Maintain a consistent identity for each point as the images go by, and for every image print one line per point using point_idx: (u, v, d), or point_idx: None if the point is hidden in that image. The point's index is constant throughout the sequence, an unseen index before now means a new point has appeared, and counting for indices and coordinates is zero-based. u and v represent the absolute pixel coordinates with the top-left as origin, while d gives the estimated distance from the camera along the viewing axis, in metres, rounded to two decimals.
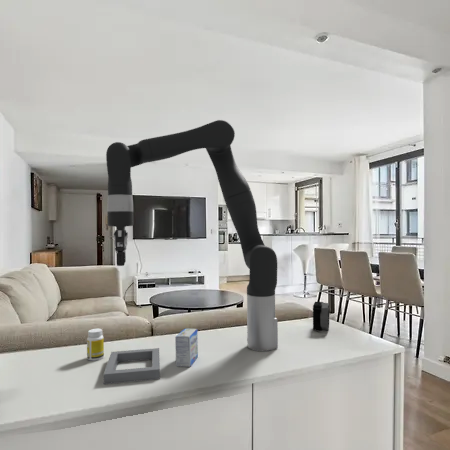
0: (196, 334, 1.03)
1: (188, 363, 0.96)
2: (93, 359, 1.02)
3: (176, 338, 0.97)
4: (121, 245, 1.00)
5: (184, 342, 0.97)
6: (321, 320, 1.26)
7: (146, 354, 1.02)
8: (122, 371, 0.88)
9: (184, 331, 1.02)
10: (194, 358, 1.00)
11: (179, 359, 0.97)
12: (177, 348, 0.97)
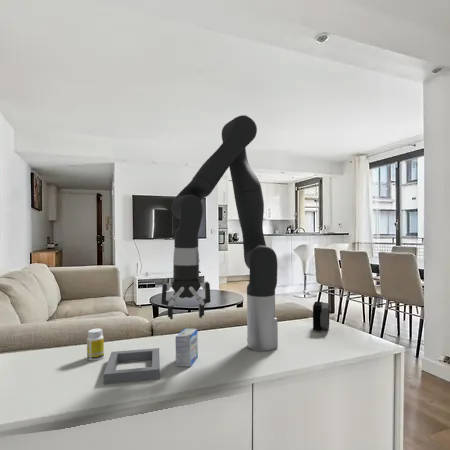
0: (196, 334, 1.03)
1: (188, 363, 0.96)
2: (93, 359, 1.02)
3: (176, 338, 0.97)
4: None
5: (184, 342, 0.97)
6: (321, 320, 1.26)
7: (146, 354, 1.02)
8: (122, 371, 0.88)
9: (184, 331, 1.02)
10: (194, 358, 1.00)
11: (179, 359, 0.97)
12: (177, 348, 0.97)
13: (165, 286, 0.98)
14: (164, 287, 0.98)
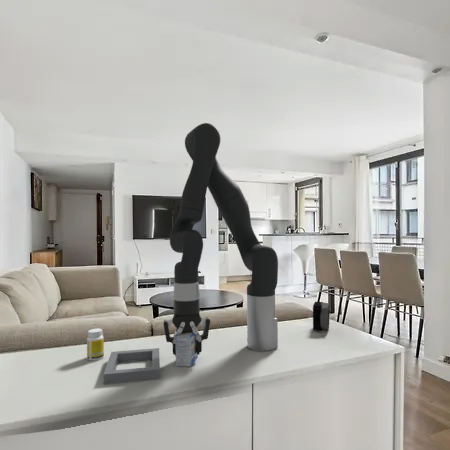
0: None
1: (188, 363, 0.96)
2: (93, 359, 1.02)
3: (176, 338, 0.97)
4: None
5: (184, 342, 0.97)
6: (321, 320, 1.26)
7: (146, 354, 1.02)
8: (122, 371, 0.88)
9: None
10: (194, 358, 1.00)
11: (179, 359, 0.97)
12: (177, 348, 0.97)
13: (166, 324, 0.98)
14: (165, 325, 0.98)
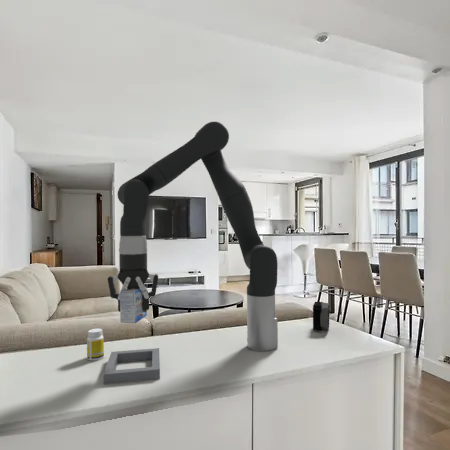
0: None
1: (133, 320, 0.92)
2: (93, 359, 1.02)
3: (121, 293, 0.92)
4: None
5: (129, 297, 0.92)
6: (321, 320, 1.26)
7: (146, 354, 1.02)
8: (122, 371, 0.88)
9: None
10: (141, 316, 0.95)
11: (124, 315, 0.92)
12: (122, 304, 0.92)
13: (110, 279, 0.93)
14: (110, 280, 0.93)
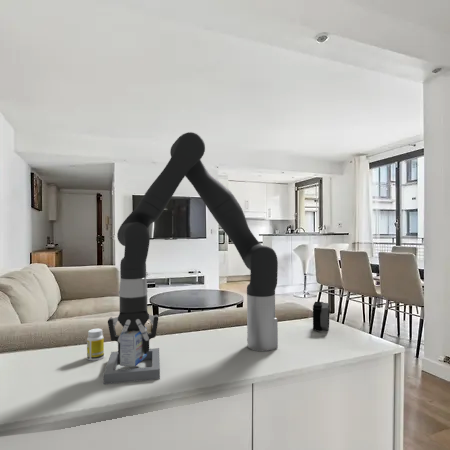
0: None
1: (133, 363, 0.92)
2: (93, 359, 1.02)
3: (121, 336, 0.92)
4: None
5: (129, 341, 0.92)
6: (321, 320, 1.26)
7: None
8: (122, 371, 0.88)
9: None
10: (141, 357, 0.95)
11: (124, 358, 0.92)
12: (122, 347, 0.92)
13: (110, 322, 0.93)
14: (110, 323, 0.93)
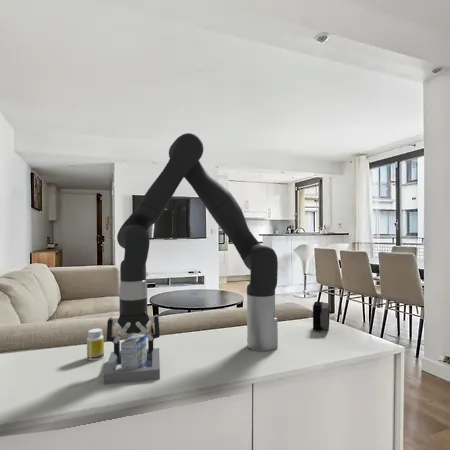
0: (145, 340, 0.98)
1: None
2: (93, 359, 1.02)
3: (122, 345, 0.92)
4: None
5: (130, 349, 0.92)
6: (321, 320, 1.26)
7: None
8: (122, 371, 0.88)
9: (131, 337, 0.97)
10: (142, 365, 0.95)
11: (125, 367, 0.92)
12: (123, 355, 0.92)
13: (110, 322, 0.93)
14: (109, 323, 0.93)
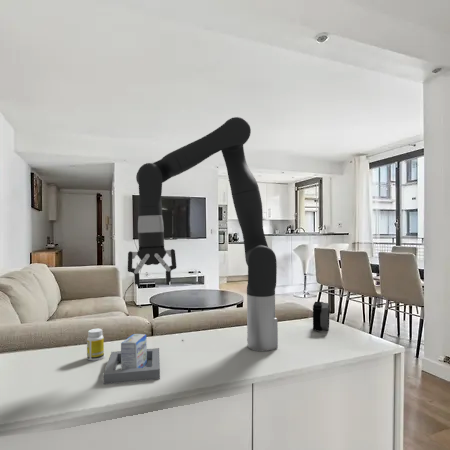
0: (145, 340, 0.98)
1: None
2: (93, 359, 1.02)
3: (122, 345, 0.92)
4: None
5: (130, 349, 0.92)
6: (321, 320, 1.26)
7: None
8: (122, 371, 0.88)
9: (131, 337, 0.97)
10: (142, 365, 0.95)
11: (125, 367, 0.92)
12: (123, 355, 0.92)
13: (130, 254, 1.00)
14: (129, 255, 1.00)
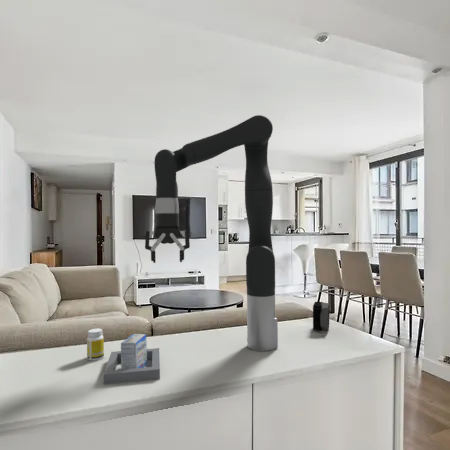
0: (145, 340, 0.98)
1: None
2: (93, 359, 1.02)
3: (122, 345, 0.92)
4: None
5: (130, 349, 0.92)
6: (321, 320, 1.26)
7: None
8: (122, 371, 0.88)
9: (131, 337, 0.97)
10: (142, 365, 0.95)
11: (125, 367, 0.92)
12: (123, 355, 0.92)
13: (148, 233, 1.09)
14: (147, 233, 1.09)
